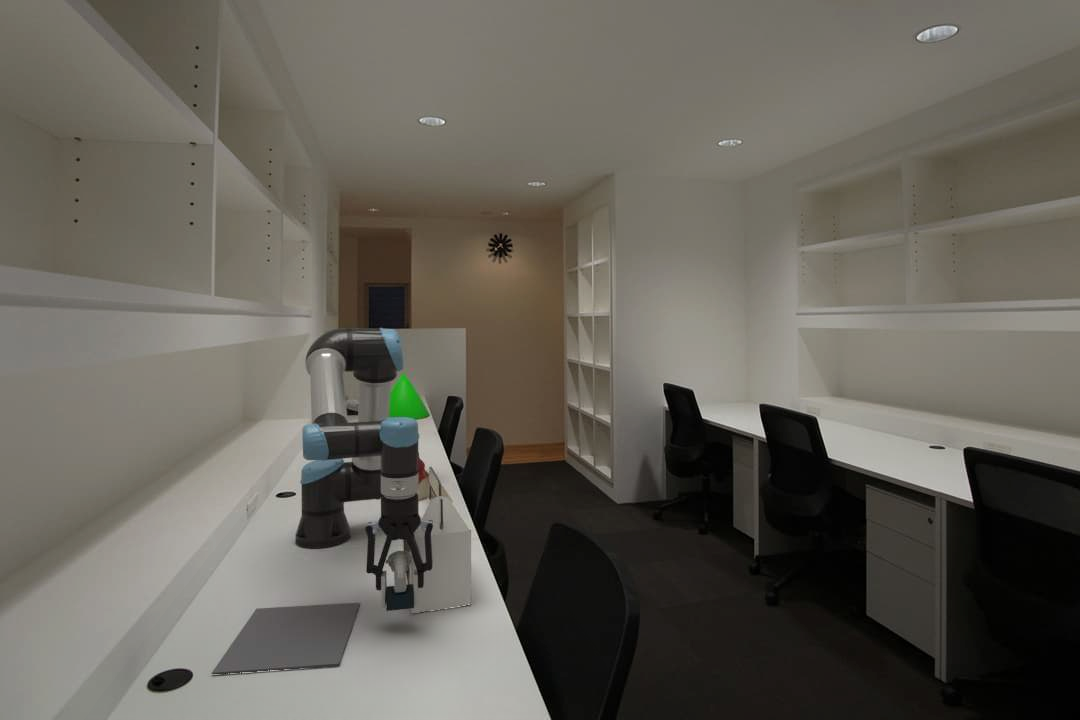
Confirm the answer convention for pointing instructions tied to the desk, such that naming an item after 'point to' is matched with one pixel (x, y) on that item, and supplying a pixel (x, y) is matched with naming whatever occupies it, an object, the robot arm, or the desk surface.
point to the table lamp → (408, 409)
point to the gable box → (441, 550)
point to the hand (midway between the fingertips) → (400, 603)
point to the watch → (399, 582)
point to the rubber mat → (291, 639)
